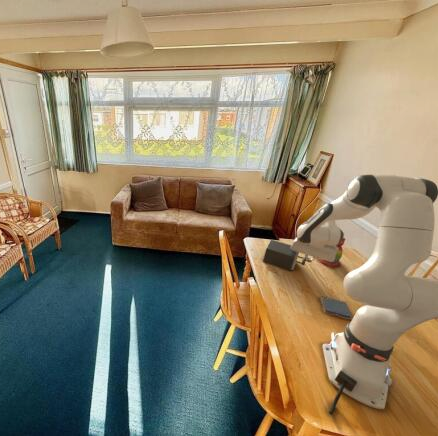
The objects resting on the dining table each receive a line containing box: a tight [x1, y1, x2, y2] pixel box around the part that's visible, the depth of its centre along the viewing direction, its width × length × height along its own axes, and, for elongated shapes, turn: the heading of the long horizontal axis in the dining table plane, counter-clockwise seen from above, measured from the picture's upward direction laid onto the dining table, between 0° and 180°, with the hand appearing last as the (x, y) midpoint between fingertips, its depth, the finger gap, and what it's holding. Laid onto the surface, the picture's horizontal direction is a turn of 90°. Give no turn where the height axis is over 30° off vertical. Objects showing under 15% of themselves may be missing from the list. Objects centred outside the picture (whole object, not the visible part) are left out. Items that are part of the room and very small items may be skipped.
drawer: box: [291, 252, 307, 271], centre depth 134 cm, size 18×11×8 cm, turn 52°
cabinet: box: [262, 239, 296, 272], centre depth 136 cm, size 15×13×10 cm
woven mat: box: [319, 295, 353, 321], centre depth 105 cm, size 10×11×2 cm
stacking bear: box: [317, 237, 346, 268], centre depth 133 cm, size 11×10×18 cm
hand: (308, 261), depth 128 cm, fingers closed
